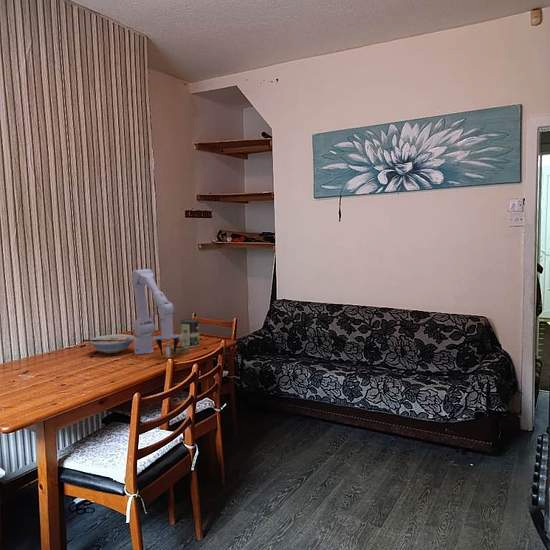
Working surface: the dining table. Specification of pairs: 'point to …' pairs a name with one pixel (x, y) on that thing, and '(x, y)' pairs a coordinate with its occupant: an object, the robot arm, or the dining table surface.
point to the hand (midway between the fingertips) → (168, 353)
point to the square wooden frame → (179, 350)
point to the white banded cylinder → (168, 350)
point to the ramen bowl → (111, 343)
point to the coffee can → (190, 332)
